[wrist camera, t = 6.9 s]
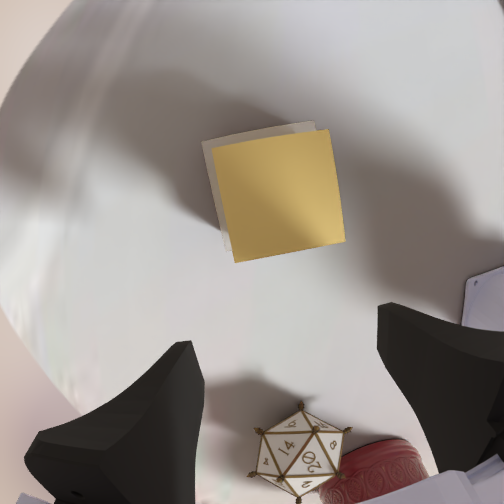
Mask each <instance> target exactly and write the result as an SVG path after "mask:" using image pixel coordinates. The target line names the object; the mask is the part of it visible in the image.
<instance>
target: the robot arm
mask: <svg viewBox="0 0 504 504" xmlns="http://www.w3.org/2000/svg"><path fill="white" fill-rule="evenodd" d="M474 282H475V283H474ZM377 350H378V352H379V355H380V357H381V359H382V361H383V363H384V365H385V367H386V369H387V371H388V372H389V374H390V375H391V377H392V378H393V380H394V381H395V383H396V384H397V386H398V387H399V389H400V390H401V392H402V393H403V395H404V396H405V398H406V399H407V401H408V402H409V404H410V405H411V407H412V409H413V410H414V412H415V414H416V416H417V418H418V420H419V422H420V425H421V427H422V429H423V431H424V433H425V436H426V438H427V441H428V443H429V446H430V448H431V451H432V454H433V457H434V460H435V462H436V465H437V468H438V472H439V474H437V475H434V476H431V477H429V478H426V479H424V480H422V481H419V482H417V483H415V484H412V485H410V486H407V487H404V488H402V489H399V490H397V491H394V492H391V493H388V494H385V495H382V496H379V497H376V498H373V499H370V500H367V501H363V502H360V503H356V504H504V266H503V267H500V268H497V269H495V270H492V271H489V272H486V273H483V274H481V275H478V276H475V277H472V278H469V279H468V280H467V282H466V290H465V300H464V309H463V317H462V324H461V325H458V324H454V323H451V322H447V321H444V320H441V319H438V318H435V317H432V316H429V315H427V314H424V313H421V312H419V311H416V310H413V309H411V308H408V307H405V306H402V305H400V304H396V303H393V302H391V303H387V304H383V305H379V306H378V330H377ZM203 407H204V379H203V376H202V373H201V370H200V367H199V363H198V360H197V357H196V354H195V351H194V348H193V345H192V341H191V340H190V341H182V342H176V343H175V344H173V345H172V346H171V347H170V348H169V349H168V350H167V351H166V352H165V353H164V354H163V355H162V356H161V358H160V359H159V360H158V361H157V362H156V363H155V364H154V365H153V366H152V367H151V368H150V369H149V370H148V371H146V372H145V373H144V374H143V375H142V376H141V377H140V378H139V379H138V380H136V381H135V382H134V383H133V384H132V385H131V386H130V387H128V388H127V389H126V390H124V391H123V392H122V393H120V394H119V395H118V396H116V397H115V398H113V399H112V400H110V401H109V402H107V403H105V404H104V405H102V406H100V407H99V408H97V409H95V410H93V411H92V412H90V413H88V414H86V415H84V416H82V417H79V418H77V419H75V420H72V421H70V422H68V423H65V424H62V425H59V426H56V427H53V428H49V429H46V430H43V431H39V432H38V434H37V436H36V437H35V439H34V441H33V442H32V444H31V446H30V448H29V450H28V451H27V453H26V455H25V456H24V461H25V464H26V466H27V468H28V470H29V471H30V472H31V474H32V475H33V476H34V477H35V478H36V479H37V480H38V482H39V483H40V484H42V485H43V487H44V488H45V489H46V490H48V491H49V493H50V494H51V495H53V496H54V497H55V498H56V500H55V502H54V504H195V458H196V449H197V442H198V436H199V431H200V425H201V419H202V413H203ZM16 504H50V503H48V502H47V501H44V500H42V499H39V498H36V497H33V496H31V495H28V494H25V493H21V494H20V497H19V498H18V500H17V502H16Z"/></svg>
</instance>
